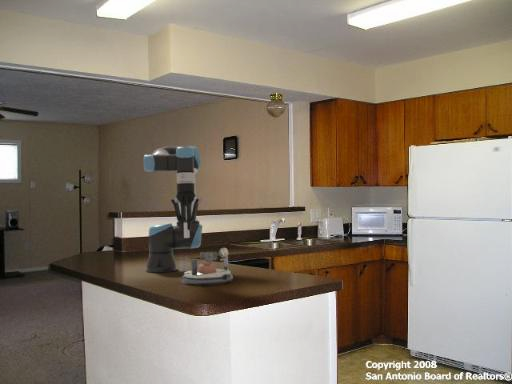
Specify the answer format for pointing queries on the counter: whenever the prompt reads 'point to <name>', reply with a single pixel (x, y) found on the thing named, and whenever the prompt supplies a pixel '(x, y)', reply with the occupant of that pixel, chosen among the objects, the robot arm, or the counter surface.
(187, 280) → the turntable base
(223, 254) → the indicator stand
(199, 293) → the counter surface
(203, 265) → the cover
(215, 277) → the platter
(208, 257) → the mechanical component
